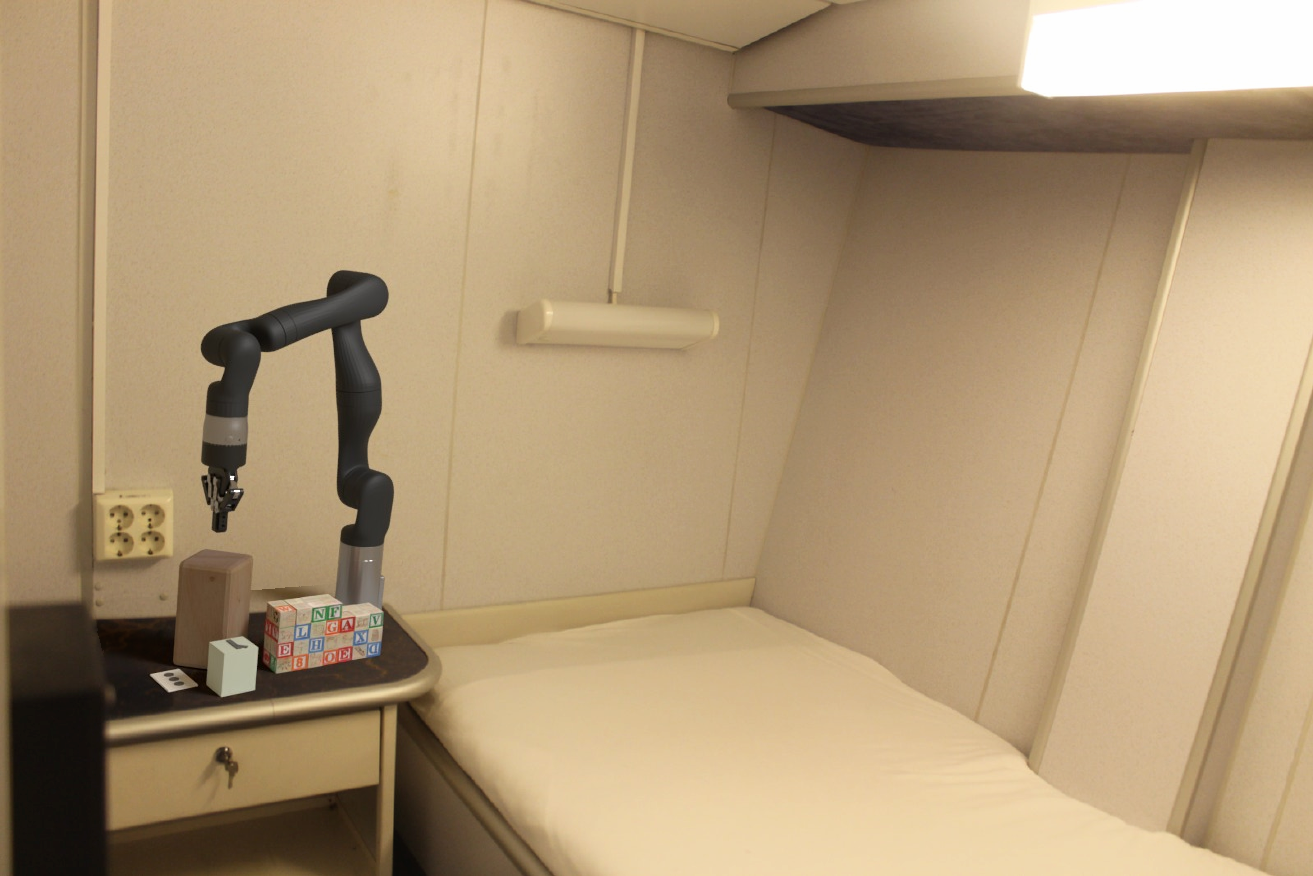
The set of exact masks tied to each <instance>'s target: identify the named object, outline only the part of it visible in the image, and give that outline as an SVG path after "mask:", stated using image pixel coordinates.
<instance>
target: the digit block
mask: <svg viewBox="0 0 1313 876" xmlns="http://www.w3.org/2000/svg"><path fill="white" fill-rule="evenodd" d="M258 655H259V646H257V645H255V643H253V642H251V641H250V640H249V639H248V638H247V639H246V638H245V637H243V636H242V637H236V638H230V639H224V640H219V641H213V642H209V655H208V669H206V670H207V671H206V686H207V687H208V688H210V689H211V690H212V691H213V692H215V694H217V695H218V696H219V697H220V698H223V697H224V698H225V697H228V696H234V695H238V694H243V693H248V692H252V691H256V681H257V668H258V667H257V666H258V657H259V656H258Z"/></svg>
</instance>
